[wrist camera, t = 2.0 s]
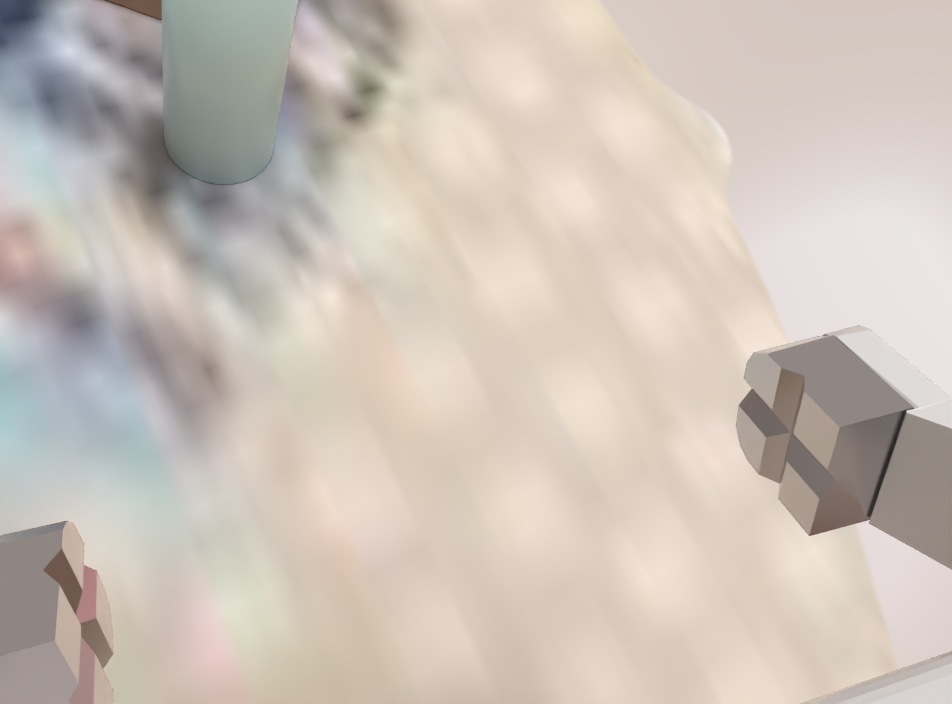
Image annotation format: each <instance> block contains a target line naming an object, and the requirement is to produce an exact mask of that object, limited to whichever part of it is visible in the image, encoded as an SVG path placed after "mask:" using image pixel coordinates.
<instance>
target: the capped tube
mask: <svg viewBox="0 0 952 704" xmlns="http://www.w3.org/2000/svg"><path fill="white" fill-rule="evenodd" d="M297 5H298V0H162V55H163V115H164V142H165V146H166V149H167V152H168V154H169V155H170V157H171V158H172V160H173V161H174V162H175V164H176V165H177V166H178V167H179V168H181V169H182V170H183V171H184V172H186V173H187V174H189V175H190V176H192V177H194V178H196V179H199V180H202V181H204V182H208V183H213V184H224V185H227V184H236V183H241V182H244V181H247V180H249V179H252V178H253V177H255V176H257V175H258V174H259V173H261V172H262V171H263V170H264V169H265V168H266V167H267V165H268V163H269V162H270V160H271V158H272V154H273V150H274V144H275V138H276V132H277V126H278V120H279V114H280V108H281V102H282V96H283V90H284V84H285V78H286V72H287V66H288V60H289V54H290V48H291V42H292V36H293V29H294V23H295V17H296V11H297Z"/></svg>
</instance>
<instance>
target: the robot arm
mask: <svg viewBox="0 0 952 704" xmlns="http://www.w3.org/2000/svg"><path fill="white" fill-rule="evenodd" d="M744 379H745V381H746V382H747V383H748V384H749V386H750V387H751V388H752V389H751V391H750V392H749V393H748V394H747V396H746V397H745V398H744V399H743V401H742V402H741V403H740V404H739V407H738V414H737V421H736V428H737V433H738V438H739V443H740V446H741V448H742V450H743V452H744V454H745V456H746V458H747V460H748V462H749V463H750V464H751V465H752V467H753V468H754V469H755V471H756V472H757V473H758V474H759V475H761V476H764V477H766V478H768V479H770V480H773V481H775V482H777V483H779V494H778V499H779V500H780V501H781V503H782V504H783V505H784V506H785V507H786V509H787V510H788V511H789V512H790V513H791V515H792V516H793V517H794V518H795V520H796V521H797V522H798V523H799V524H800V526H801V527H802V528H803V529H804V530H805V532H806V533H807V534H808V535H809V536H811V535H815V534H819V533H823V532H826V531H830V530H834V529H837V528H841V527H845V526H849V525H852V524H856V523H860V522H863V521H867V520H870V521H869V524H871V525H873V526H874V527H876V528H878V529H880V530H882V531H883V532H885V533H887V534H889V535H891V536H893V537H894V538H896V539H898V540H900V541H901V542H903V543H905V544H907V545H909V546H910V547H912V548H914V549H916V550H918V551H920V552H922V553H923V554H925V555H927V556H928V557H930V558H932V559H934V560H936V561H938V562H939V563H941V564H943V565H945V566H947V567H948V568H950V569H952V397H951V396H949V395H948V394H947V393H946V392H945V391H943V390H942V389H941V388H940V387H939V386H938V385H936V384H935V383H934V382H933V381H932V380H931V379H929V378H928V377H927V376H926V375H925V374H923V373H922V372H921V371H920V370H919V369H917V368H916V367H915V366H914V365H913V364H911V363H910V362H909V361H908V360H907V359H906V358H904V357H903V356H902V355H901V354H900V353H898V352H897V351H896V350H895V349H894V348H892V347H891V346H890V345H889V344H888V343H887V342H885V341H884V340H883V339H882V338H881V337H879V336H878V335H877V334H876V333H875V332H873V331H872V330H871V329H869V328H866V327H863V326H860V325H858V326H854V327H850V328H846V329H842V330H839V331H835V332H831V333H828V334H824V335H823V336H817V337H813V338H809V339H805V340H801V341H797V342H793V343H789V344H785V345H781V346H778V347H774V348H770V349H766V350H762V351H758V352H754V353H753V354H752V356H751V357H750V359H749V360H748V362H747V364H746V369H745V374H744ZM112 655H113V628H112V621H111V614H110V608H109V603H108V600H107V596H106V593H105V590H104V586H103V584H102V582H101V579H100V577H99V575H98V573H97V571H96V570H94V569H91V568H89V567H87V566H85V565H84V542H83V540H82V538H81V536H80V534H79V533H78V531H77V529H76V527H75V525H74V523H72V522H69V521H64V522H59V523H55V524H50V525H46V526H41V527H37V528H32V529H28V530H23V531H19V532H14V533H10V534H5V535H1V536H0V704H113V689H112V687H111V685H110V683H109V681H108V679H107V676H106V674H105V672H104V670H103V668H104V667H105V665H106V664H107V662H108V661H109V660H110V658H111V657H112ZM801 704H952V651H951V652H948V653H945V654H942V655H939V656H936V657H933V658H931V659H928V660H925V661H922V662H919V663H916V664H913V665H910V666H908V667H905V668H902V669H899V670H896V671H893V672H890V673H887V674H885V675H882V676H879V677H876V678H873V679H870V680H867V681H864V682H862V683H859V684H856V685H853V686H850V687H847V688H844V689H841V690H839V691H836V692H833V693H830V694H827V695H824V696H821V697H818V698H816V699H813V700H810V701H807V702H804V703H801Z"/></svg>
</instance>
